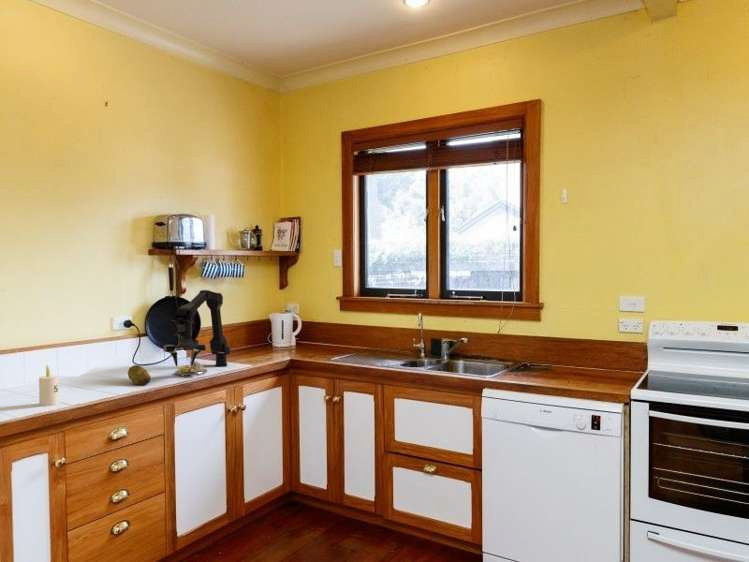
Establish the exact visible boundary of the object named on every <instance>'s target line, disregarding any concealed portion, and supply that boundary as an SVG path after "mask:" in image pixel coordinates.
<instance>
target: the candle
mask: <svg viewBox="0 0 749 562" xmlns="http://www.w3.org/2000/svg"><path fill="white" fill-rule="evenodd" d="M45 374H46V375H42V376H39V378H38V389H39V391H38V395H39V396H38V397H39V398H38V400H39V407H40V406H41V407H49V406H56V405H58V404H59V376H58V375H56V374H55V375H53V374H52V375H51V372H50V367H49V366H48V365H45Z"/></svg>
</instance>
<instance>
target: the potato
mask: <svg viewBox="0 0 749 562" xmlns="http://www.w3.org/2000/svg"><path fill="white" fill-rule="evenodd" d="M127 375H128V378H129V380H131V382H132V383H133V384H134V385H136V386H145V385H148V384H149V383H150V382H151V380H152V377H151V375H150V373H149V372H148V370H146V368H144V367H143V366H142V365H139V364H135V365H132V366H131V367H129V369H128V371H127Z"/></svg>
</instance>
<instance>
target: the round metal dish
mask: <svg viewBox="0 0 749 562" xmlns="http://www.w3.org/2000/svg"><path fill="white" fill-rule="evenodd" d="M188 368H190V367H188ZM206 372H207V373H208V369H207V368H204V369H203V370H201V371H197V372H181V371H179V369H177V370H175V373H174V374H175V375H176V376H178V375H183V376H182V377H188V376H187V375H197V376H200V375H199V374H203V375H205V374H204V373H206ZM207 373H206V374H207Z"/></svg>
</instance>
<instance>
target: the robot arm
mask: <svg viewBox="0 0 749 562" xmlns="http://www.w3.org/2000/svg"><path fill="white" fill-rule="evenodd" d="M223 299H224V296H223V294H222V293H221V292H216V291H215V292H214V291H211V290H207V289H202V290H199V292H198V294H197V295H195V297H193V298H192V299H191V300H190V301H189V302H188V303H186V304H183V305H181V306H180V307H178V309H177V311H176V312H175V315H174V317H173V318H172V320H170V323H169V324H168V325H167V327H166V331H167V333H168V335H170V336H176V335H177V336H178V344H177V345H176V346H175V345H173V344H164V345H163V349H162V350H163V352H165V353H169V354H170V355H171V357H172V359H173V362H174V365H175V367H178V351H191V353H190V354H191V355H190V361H191V365H193V363H194V361H196V357H197V356H198V354H199V353H201V351H202V352H204V351H206V349H207V346H206V345H205V344H204V343H199V340H198V339H193V335H192V334H193V333H192V332H193V331H192V329H193V328H192V327H193V324H195V321H194V320H193V319H194V318H195V316H196V314H197V311H198V309H199V308H200V307H201V306H202V305H203V304H204V303H205V302H206V307H208V309H209V310H210V319H211V328H212V337H211V339H210V340H209V348H210V351H211V355H215V364H214V366H213V367H227V366H228V365H229V363H228V361H227V360H228V358H227V356H228V355H230V354H232V353H231V351H232V349H231V348H230V346H229V345H228V341H227V339H226V337H225V336H224V335H223V334H224V333H223V324H222V314H221V308H222V306H223V304H224V303H223V301H224V300H223ZM227 364H228V365H227ZM226 365H227V366H226Z"/></svg>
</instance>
